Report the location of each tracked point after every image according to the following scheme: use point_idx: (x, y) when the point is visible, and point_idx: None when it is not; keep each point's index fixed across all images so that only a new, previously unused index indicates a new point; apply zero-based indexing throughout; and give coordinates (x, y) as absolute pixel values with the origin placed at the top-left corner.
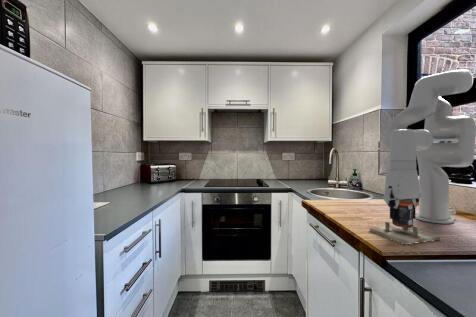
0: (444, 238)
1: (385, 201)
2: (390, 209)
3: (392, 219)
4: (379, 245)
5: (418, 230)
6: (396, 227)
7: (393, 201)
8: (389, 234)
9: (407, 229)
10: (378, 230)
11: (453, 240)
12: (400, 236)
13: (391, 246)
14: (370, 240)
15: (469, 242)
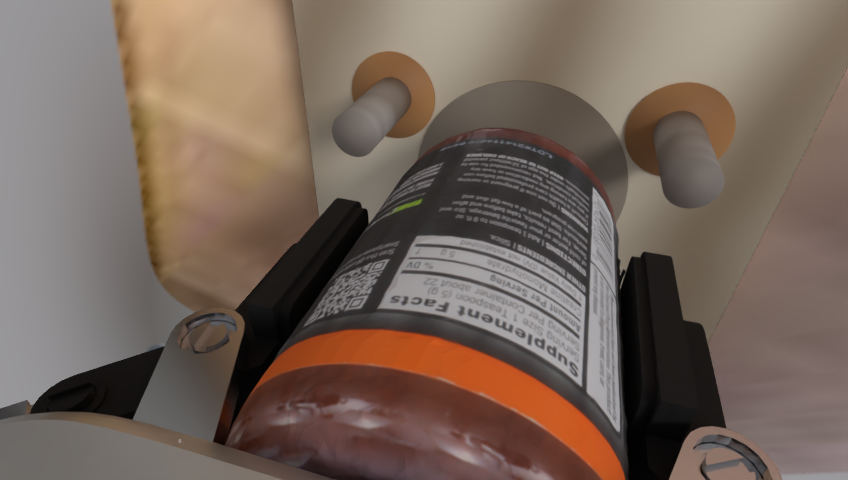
0: (789, 363)
1: (25, 404)
2: (241, 309)
3: (394, 188)
4: (190, 216)
5: (735, 232)
6: (624, 42)
7: (226, 435)
8: (332, 176)
9: (649, 165)
10: (314, 44)
11: (789, 406)
12: None
13: (251, 257)
14: (175, 130)
15: (839, 465)
